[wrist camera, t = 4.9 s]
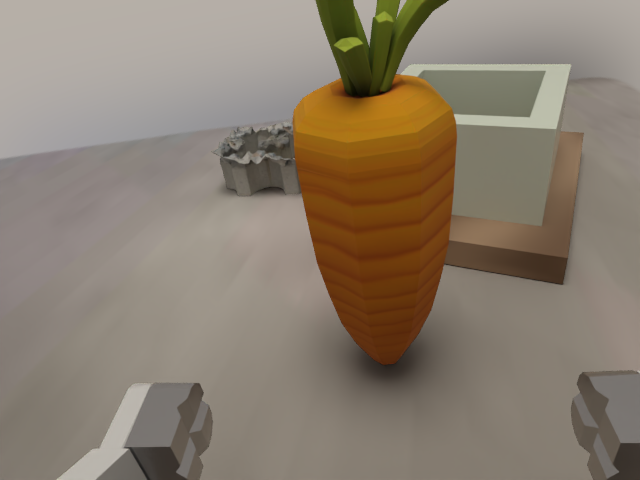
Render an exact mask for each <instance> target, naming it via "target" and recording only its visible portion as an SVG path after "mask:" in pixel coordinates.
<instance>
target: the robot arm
mask: <svg viewBox="0 0 640 480" xmlns="http://www.w3.org/2000/svg"><path fill="white" fill-rule="evenodd" d="M577 386H578V388H579V390H580V393H579V394H578V395H577V396H575V397H574V398H573V401H572V406H571V418H572V425H573V429H574V433H575V435H576V438H577V440H578V443H579V445H580V446H582V447H583V448H584V449H585V450H586V451H588V452H589V453H590V457H589V461H588V464H587V466H588V468H589V471H590V473H591V476H592V478H593V480H640V371H633V370H628V371H602V372H582V373H581V374H580V375H579V378H578V381H577ZM203 393H204V392H203V390H202V388H201V386H200V383H134V384H133V385H132V386H131V387H130V388H129V389H128V390H127V392H126V394H125V396H124V398H123V400H122V402H121V404H120V406H119V408H118V410H117V412H116V415H115V417H114V419H113V421H112V423H111V425H110V427H109V429H108V431H107V433H106V435H105V437H104V439H103V441H102V444H101V446H100V448H99V449H92V450H91V451H90V452H88V453H87V454H86V455H85V456H84V457H83V458H81V459H80V460H79V461H78V462H77V463H76V464H74V465H73V466H72V467H71V468H70V469H69V470H67V471H66V472H65V473H64V474H63V475H61V476H60V477H59V478H58V479H57V480H200V476H201V473H202V469H203V464H202V462H201V459H200V457H199V456H200V455H201V454H202V453H203V452H204V451H205V450H206V449H207V448H208V447H209V444H210V440H211V436H212V425H213V420H212V413H211V410H210V407H209V405H208V404H206V403H205V402H203V401H202V397H203Z"/></svg>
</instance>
